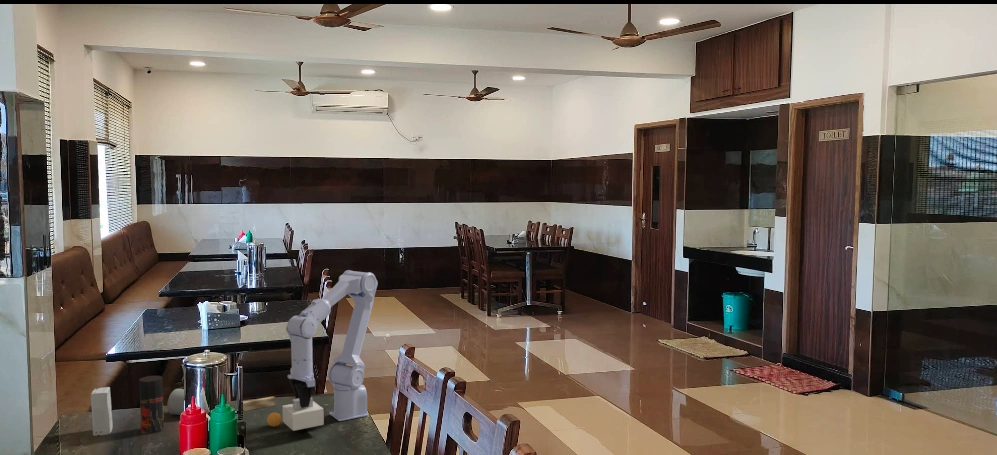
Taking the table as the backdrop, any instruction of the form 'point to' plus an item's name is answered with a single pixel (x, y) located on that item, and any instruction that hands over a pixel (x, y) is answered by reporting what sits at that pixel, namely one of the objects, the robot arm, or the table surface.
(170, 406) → the grey rounded block
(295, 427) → the white box with knob
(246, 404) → the stopper bar
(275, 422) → the ball
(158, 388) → the deodorant
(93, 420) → the skincare box
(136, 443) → the table surface
